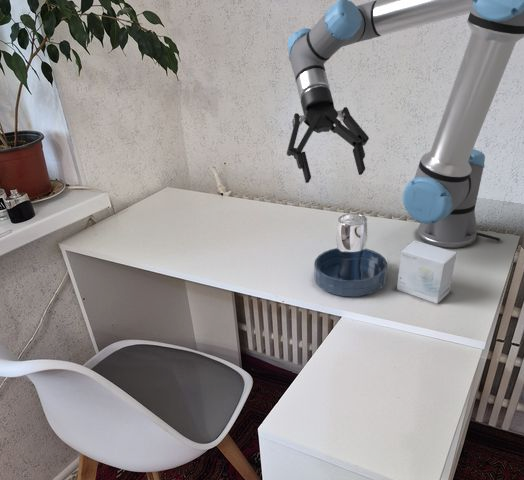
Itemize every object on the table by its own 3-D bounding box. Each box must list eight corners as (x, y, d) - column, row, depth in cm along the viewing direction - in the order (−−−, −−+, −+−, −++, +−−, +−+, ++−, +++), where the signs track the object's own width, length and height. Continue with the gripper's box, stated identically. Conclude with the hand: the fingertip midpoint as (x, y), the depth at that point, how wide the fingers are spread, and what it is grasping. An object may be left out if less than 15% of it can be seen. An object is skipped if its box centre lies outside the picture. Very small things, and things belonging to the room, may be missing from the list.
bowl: (385, 264, 130) (387, 248, 127) (385, 300, 116) (387, 283, 114) (318, 261, 133) (318, 245, 130) (310, 296, 119) (310, 279, 117)
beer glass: (363, 285, 121) (367, 226, 112) (333, 283, 122) (335, 225, 113) (364, 270, 126) (368, 213, 117) (336, 269, 128) (338, 212, 118)
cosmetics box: (395, 290, 119) (400, 249, 113) (409, 279, 123) (414, 239, 117) (437, 304, 114) (444, 262, 107) (450, 292, 117) (458, 251, 111)
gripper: (358, 98, 129) (378, 176, 127) (263, 110, 125) (282, 190, 123) (368, 79, 122) (389, 160, 120) (267, 90, 118) (288, 175, 115)
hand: (335, 176), depth 121 cm, fingers open, 13 cm apart
